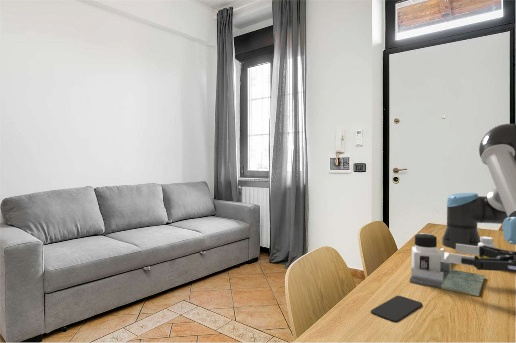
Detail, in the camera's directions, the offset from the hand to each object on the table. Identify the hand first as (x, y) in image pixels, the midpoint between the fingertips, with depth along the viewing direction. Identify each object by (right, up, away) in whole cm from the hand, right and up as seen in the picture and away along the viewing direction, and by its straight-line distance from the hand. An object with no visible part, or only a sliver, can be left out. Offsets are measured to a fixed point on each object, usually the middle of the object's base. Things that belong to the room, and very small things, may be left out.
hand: (452, 252), depth 107 cm
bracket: (+4, -9, +18) cm, 20 cm away
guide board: (-1, -9, +2) cm, 10 cm away
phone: (-25, -11, -18) cm, 33 cm away
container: (-6, -8, +6) cm, 12 cm away
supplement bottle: (+23, -9, +18) cm, 30 cm away
